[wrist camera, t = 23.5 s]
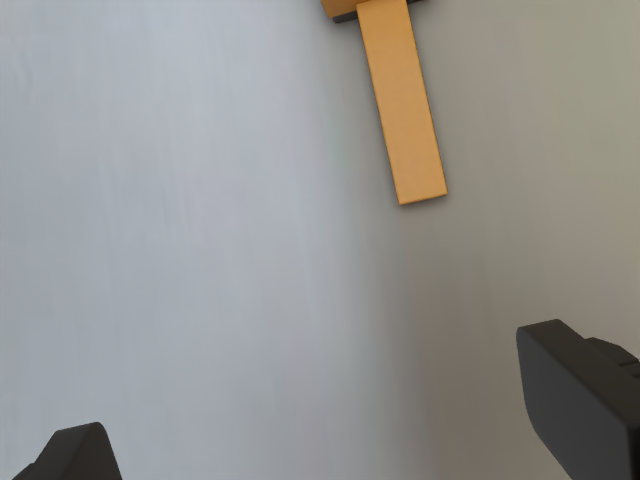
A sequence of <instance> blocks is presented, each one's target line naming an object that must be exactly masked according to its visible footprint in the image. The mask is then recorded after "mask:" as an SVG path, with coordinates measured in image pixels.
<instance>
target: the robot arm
mask: <svg viewBox="0 0 640 480" xmlns="http://www.w3.org/2000/svg"><path fill="white" fill-rule="evenodd" d="M516 341H517V349H518V356H519V364H520V371H521V378H522V385H523V392H524V400H525V405H526V409H527V413H528V416H529V419H530V421H531V424H532V426H533V428H534V430H535V432H536V433H537V435H538V436H539V438H540V439H541V440H542V442H543V443H544V444H545V445H546V447H547V448H548V449H549V451H550V452H551V453H552V454H553V456H554V457H555V458H556V460H557V461H558V462H559V463H560V465H561V466H562V467H563V469H564V470H565V471H566V473H567V474H568V475H569V476H570V478H571V479H572V480H640V362H639V360H638V359H637V358H636V357H634V356H633V355H632V354H630V353H629V352H627V351H626V350H625V349H623V348H622V347H621V346H618V345H615V344H612V343H609V342H606V341H603V340H600V339H597V338H594V337H592V338H588V339H584V338H583V337H581V336H580V335H579V334H578V333H576V332H575V331H574V330H572V329H571V328H570V327H569V326H567V325H566V324H565V323H563V322H562V321H561V320H559V319H554V320H549V321H545V322H540V323H536V324H532V325H527V326H523V327H519V328H518V329H517V332H516ZM12 480H122V477H121V474H120V471H119V468H118V465H117V462H116V459H115V456H114V453H113V450H112V447H111V444H110V441H109V438H108V435H107V432H106V430H105V428H104V427H103V425H102V424H101V423H99V422H93V423H89V424H84V425H80V426H76V427H71V428H67V429H62V430H58V431H56V432H55V433H54V434H53V436H52V437H51V439H50V440H49V442H48V443H47V445H46V446H45V448H44V449H43V451H42V452H41V454H40V455H39V456H38V458H37V459H36V461H35V462H34V463H31V464H29V465H28V466H27V467H26V468H25V469H24V470H22V471H21V472H20V473H19V474H18V475H17V476H15V477H14V478H13V479H12Z"/></svg>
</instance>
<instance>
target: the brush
mask: <svg viewBox="0 0 640 480" xmlns="http://www.w3.org/2000/svg"><path fill="white" fill-rule="evenodd" d="M320 1H321V3H322V5H323V7H324V9H325V12H326V14H327V16H328V18H331V17H333V18H334V20H335V22H336V23H340V22H343V21H347V20H350V19H354V18H357V17H358V19H359V23H360V28H361V32H362V37H363V42H364V46H365V51H366V55H367V60H368V65H369V69H370V74H371V78H372V83H373V87H374V92H375V97H376V101H377V106H378V110H379V115H380V120H381V124H382V129H383V133H384V138H385V142H386V147H387V152H388V156H389V161H390V165H391V170H392V175H393V179H394V184H395V188H396V193H397V197H398V202H399V204H400V205H404V204H408V203H413V202H417V201H422V200H426V199H431V198H435V197H440V196H444V195H446V194H448V191H447V186H446V182H445V177H444V172H443V168H442V163H441V159H440V154H439V149H438V145H437V140H436V136H435V131H434V126H433V122H432V117H431V113H430V108H429V103H428V99H427V94H426V90H425V85H424V80H423V76H422V71H421V67H420V62H419V57H418V53H417V48H416V44H415V39H414V34H413V30H412V25H411V21H410V16H409V11H408V7H407V3H411V2H414V1H418V0H320Z"/></svg>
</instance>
